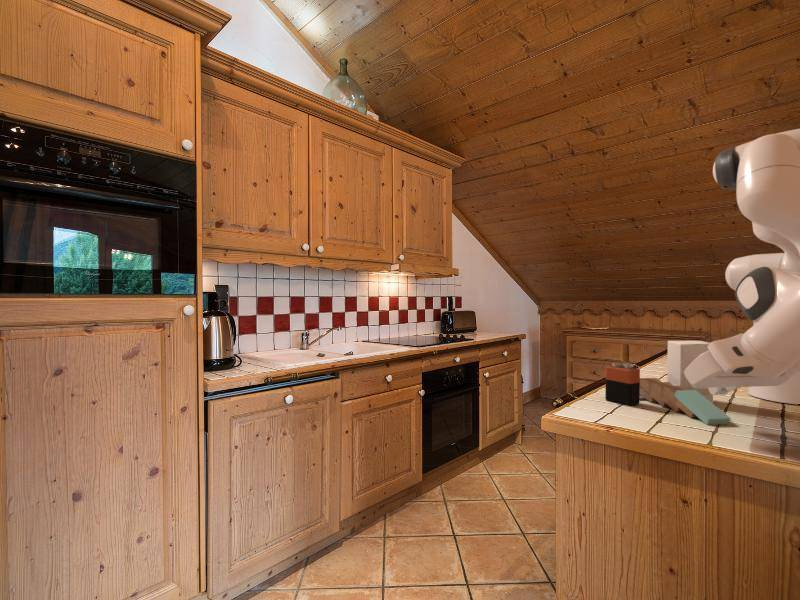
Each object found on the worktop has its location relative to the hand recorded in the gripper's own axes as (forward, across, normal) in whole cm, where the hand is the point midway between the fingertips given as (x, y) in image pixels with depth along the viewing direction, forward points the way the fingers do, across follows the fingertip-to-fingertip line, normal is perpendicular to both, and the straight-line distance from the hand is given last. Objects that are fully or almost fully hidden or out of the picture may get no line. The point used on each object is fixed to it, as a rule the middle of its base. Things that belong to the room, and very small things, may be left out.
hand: (715, 392), depth 87 cm
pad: (+21, 0, -11) cm, 23 cm away
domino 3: (+10, 0, -1) cm, 10 cm away
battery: (+17, +10, -7) cm, 21 cm away
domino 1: (+16, 0, -7) cm, 17 cm away
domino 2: (+13, 0, -4) cm, 13 cm away
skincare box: (+17, -9, -7) cm, 21 cm away
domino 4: (+7, 0, +2) cm, 7 cm away
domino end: (+4, 0, +5) cm, 6 cm away
